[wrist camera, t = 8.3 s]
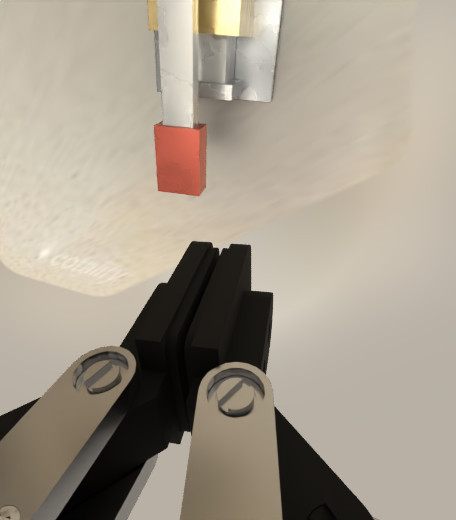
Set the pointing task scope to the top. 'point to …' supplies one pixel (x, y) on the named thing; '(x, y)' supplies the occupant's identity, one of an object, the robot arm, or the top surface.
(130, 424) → the robot arm
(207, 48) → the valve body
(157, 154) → the valve lever
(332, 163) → the top surface
